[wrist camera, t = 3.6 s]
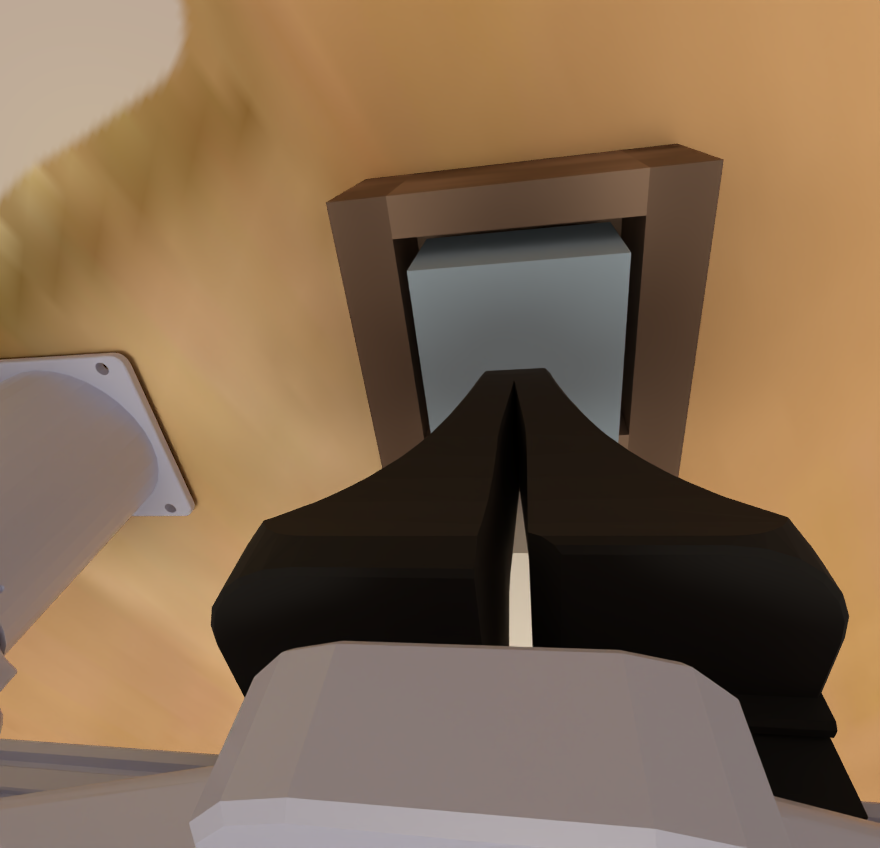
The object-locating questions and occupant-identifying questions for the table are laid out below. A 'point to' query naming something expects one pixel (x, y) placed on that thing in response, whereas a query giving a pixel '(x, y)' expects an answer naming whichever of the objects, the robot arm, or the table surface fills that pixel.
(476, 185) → the brown wooden frame
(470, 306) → the blue key
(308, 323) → the table surface
